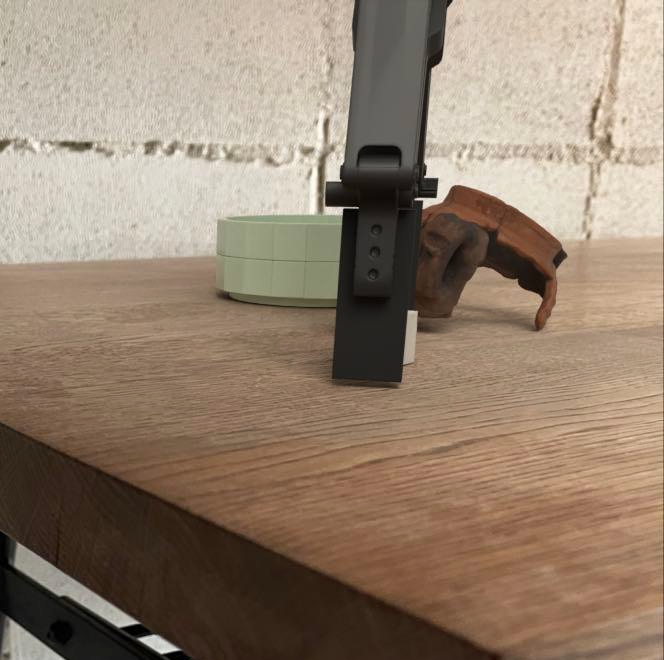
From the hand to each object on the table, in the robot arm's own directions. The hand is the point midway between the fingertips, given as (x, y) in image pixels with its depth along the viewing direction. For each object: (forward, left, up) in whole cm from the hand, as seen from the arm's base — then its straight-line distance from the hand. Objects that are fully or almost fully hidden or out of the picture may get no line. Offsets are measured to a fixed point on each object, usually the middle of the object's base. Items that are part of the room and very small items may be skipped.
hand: (375, 356), depth 50 cm
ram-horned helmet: (-11, -7, 0) cm, 13 cm away
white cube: (0, 0, 0) cm, 0 cm away
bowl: (-14, -22, 0) cm, 26 cm away
